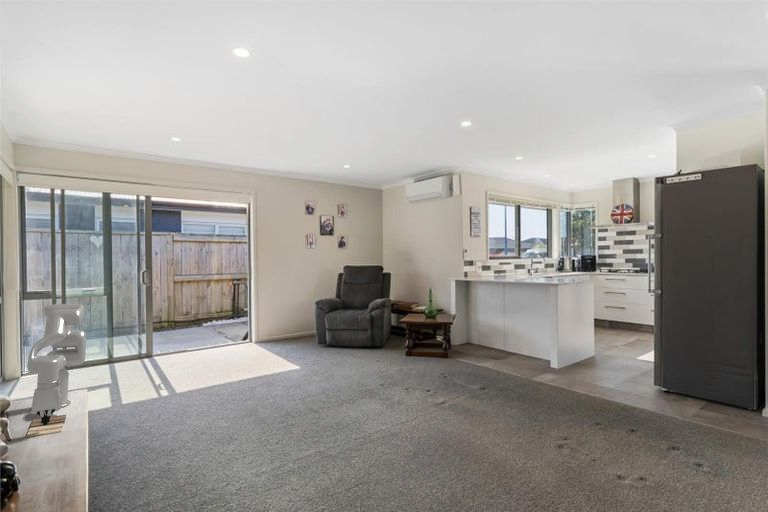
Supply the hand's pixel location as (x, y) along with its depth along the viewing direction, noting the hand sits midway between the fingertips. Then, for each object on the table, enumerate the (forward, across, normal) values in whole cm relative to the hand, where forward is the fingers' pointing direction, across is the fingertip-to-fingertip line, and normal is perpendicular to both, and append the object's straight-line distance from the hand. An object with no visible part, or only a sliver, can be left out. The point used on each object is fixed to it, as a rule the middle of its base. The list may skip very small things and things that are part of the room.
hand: (45, 424), depth 183 cm
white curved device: (+5, +1, -30) cm, 30 cm away
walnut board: (+5, 0, -15) cm, 16 cm away
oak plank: (+5, 0, -3) cm, 6 cm away
